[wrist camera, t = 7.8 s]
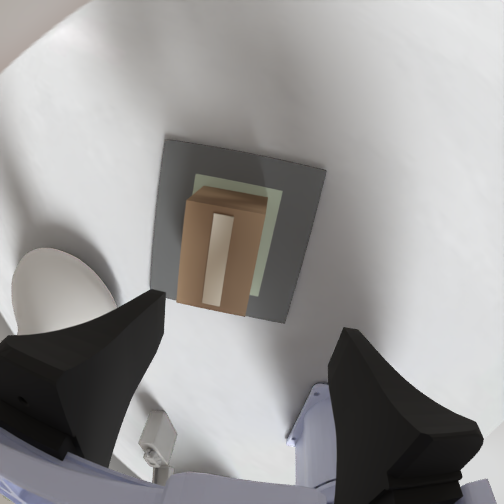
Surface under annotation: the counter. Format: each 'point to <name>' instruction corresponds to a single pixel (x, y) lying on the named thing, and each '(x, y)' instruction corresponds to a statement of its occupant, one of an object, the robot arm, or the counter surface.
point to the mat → (246, 181)
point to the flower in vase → (56, 292)
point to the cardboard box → (220, 249)
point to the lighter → (158, 445)
